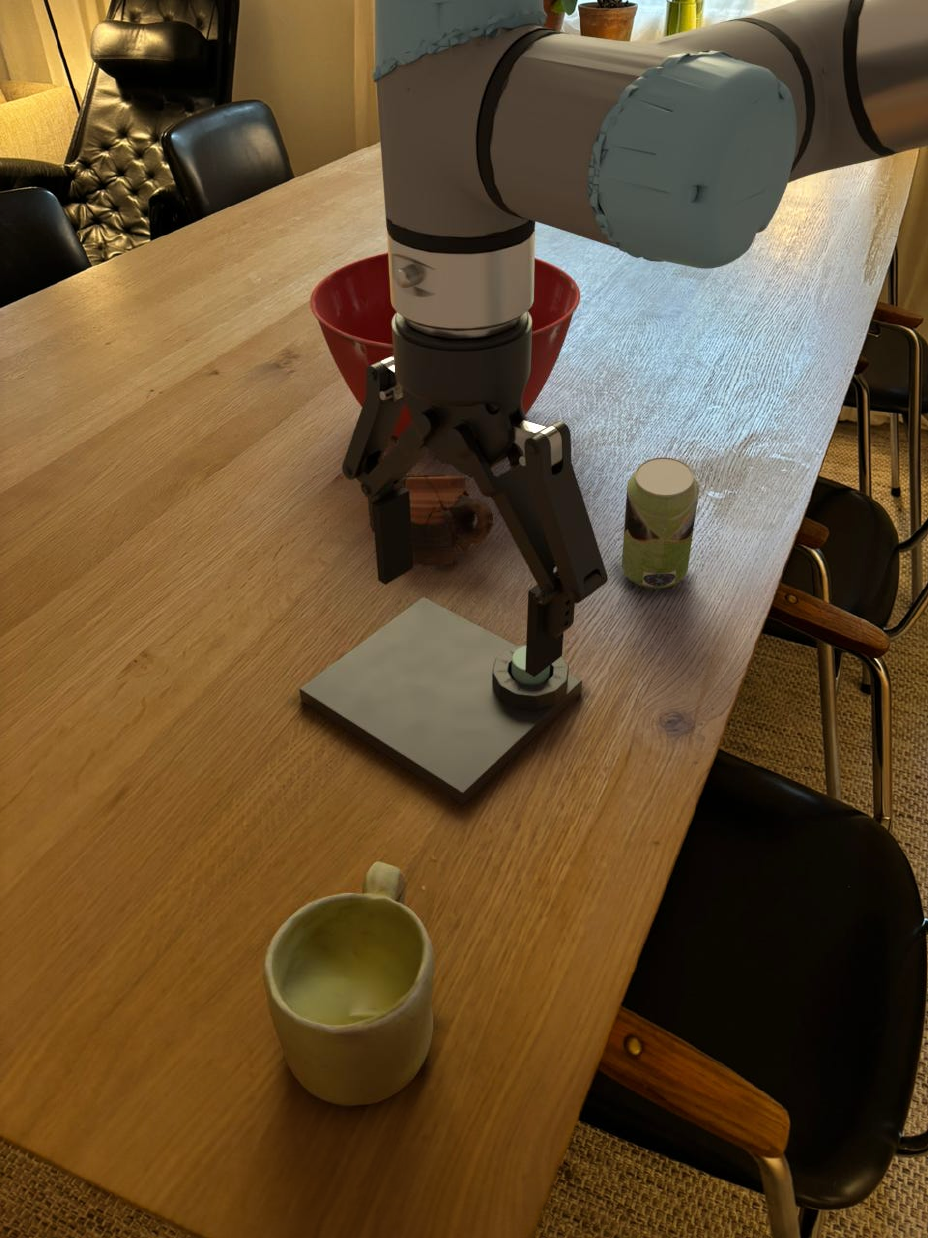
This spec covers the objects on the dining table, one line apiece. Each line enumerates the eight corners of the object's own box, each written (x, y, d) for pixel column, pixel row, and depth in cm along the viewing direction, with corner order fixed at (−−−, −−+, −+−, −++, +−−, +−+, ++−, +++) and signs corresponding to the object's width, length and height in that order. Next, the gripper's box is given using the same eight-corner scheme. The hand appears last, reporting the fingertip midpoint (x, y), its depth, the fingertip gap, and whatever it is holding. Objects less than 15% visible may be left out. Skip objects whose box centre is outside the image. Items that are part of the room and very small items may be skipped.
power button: (557, 670, 78) (558, 656, 77) (534, 691, 77) (535, 676, 76) (526, 654, 80) (527, 640, 79) (503, 674, 78) (504, 660, 77)
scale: (581, 692, 80) (583, 665, 78) (463, 806, 71) (462, 778, 70) (424, 608, 89) (422, 582, 87) (300, 701, 80) (296, 673, 78)
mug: (411, 1161, 51) (363, 1014, 48) (259, 1114, 56) (205, 977, 53) (508, 991, 61) (474, 858, 57) (370, 963, 66) (331, 839, 62)
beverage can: (686, 558, 94) (705, 447, 86) (685, 607, 88) (704, 493, 81) (620, 551, 95) (632, 441, 87) (614, 599, 89) (627, 486, 82)
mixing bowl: (309, 381, 123) (293, 256, 113) (529, 353, 128) (533, 231, 118) (346, 503, 102) (331, 363, 92) (607, 464, 107) (620, 327, 97)
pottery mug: (363, 563, 95) (362, 476, 93) (418, 554, 103) (417, 474, 101) (472, 570, 88) (472, 477, 87) (521, 561, 96) (522, 475, 95)
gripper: (260, 270, 57) (303, 564, 71) (606, 412, 44) (576, 741, 58) (358, 236, 61) (380, 520, 75) (701, 357, 48) (652, 676, 62)
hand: (465, 617), depth 66 cm, fingers open, 13 cm apart
